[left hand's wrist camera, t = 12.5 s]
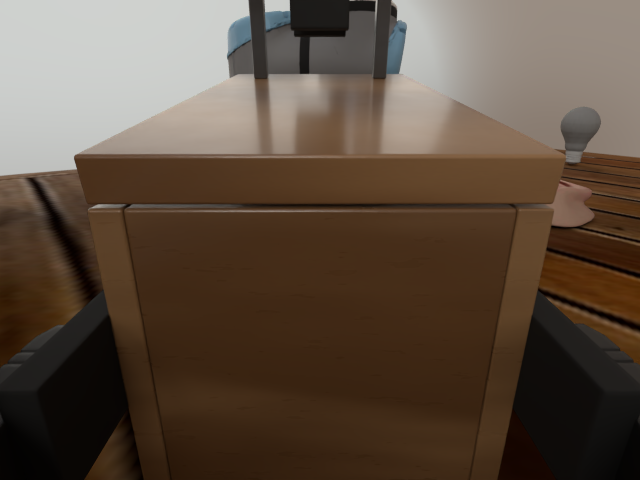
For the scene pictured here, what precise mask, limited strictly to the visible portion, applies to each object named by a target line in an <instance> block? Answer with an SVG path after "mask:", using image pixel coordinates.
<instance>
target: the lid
mask: <svg viewBox="0 0 640 480" xmlns="http://www.w3.org/2000/svg"><path fill="white" fill-rule="evenodd" d="M391 2H392V0H376V9H375V27H374V45H373V63H372V74H268V58H267V40H266V22H265V4H264V0H249V13H250V27H251V41H252V55H253V69H254V74H238V75H236V76H233V77H231V78H229V79H227V80H226V81H223V82H221V83H219V84H217V85H215V86H213V87H212V88H209V89H207V90H205V91H203V92H201V93H199V94H197V95H195V96H193V97H191V98H189V99H187V100H185V101H183V102H181V103H179V104H177V105H175V106H173V107H171V108H169V109H167V110H165V111H163V112H161V113H159V114H157V115H155V116H153V117H151V118H149V119H147V120H145V121H143V122H141V123H139V124H137V125H135V126H133V127H131V128H129V129H127V130H125V131H123V132H121V133H119V134H117V135H115V136H113V137H111V138H109V139H107V140H105V141H103V142H101V143H99V144H97V145H95V146H93V147H91V148H89V149H87V150H85V151H83V152H81V153H79V154H77V155H75V156H74V160H75V163H76V167H77V170H78V174H79V177H80V181H81V184H82V188H83V191H84V195H85V198H86V201H87V203H88V204H552V203H553V202H554V199H555V196H556V193H557V189H558V186H559V182H560V179H561V175H562V172H563V168H564V165H565V161H566V155H564V154H562V153H560V152H558V151H556V150H554V149H552V148H550V147H548V146H546V145H544V144H542V143H540V142H538V141H536V140H534V139H532V138H530V137H528V136H526V135H524V134H522V133H520V132H518V131H516V130H514V129H512V128H510V127H508V126H506V125H504V124H502V123H500V122H498V121H496V120H494V119H492V118H490V117H488V116H486V115H484V114H482V113H480V112H478V111H476V110H474V109H472V108H470V107H468V106H466V105H464V104H462V103H460V102H457V101H455V100H453V99H451V98H449V97H447V96H445V95H443V94H441V93H439V92H437V91H435V90H433V89H431V88H429V87H427V86H425V85H423V84H421V83H419V82H417V81H415V80H413V79H411V78H409V77H407V76H405V75H403V74H386V73H387V59H388V45H389V30H390V16H391Z"/></svg>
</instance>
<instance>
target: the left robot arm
mask: <svg viewBox="0 0 640 480" xmlns="http://www.w3.org/2000/svg"><path fill="white" fill-rule="evenodd" d="M127 408H128V402H127V397H126V393H125V388H124V383H123V379H122V374H121V369H120V364H119V360H118V355H117V350H116V345H115V341H114V336H113V331H112V327H111V322H110V317H109V312H108V308H107V303H106V298H105V294H104V290H103V291H102V292H100V293H99V294H98V295H97V296H96V297H95V298H94V299H93V300H92V301H91V302H89V303H88V304H87V305H86V306H85V307H84V308H83V309H82V310H81V311H80V312H79V313H77V314H76V315H75V316H74V317H73V318H72V319H71V320H70V321H69V322H68V323H67V324H65V325H57V326H55V327H53V328H52V329H50V330H48V331H46V332H44V333H42V334H40V335H39V336H37V337H36V338H34V339H33V340H32V341H31V342H30V343H29V344H27V345H26V346H25V347H24V348H23V349H22V350H21V353H17V354H16V355H15V356H14V357H12V358H11V359H10V360H9V361H8V364H4V365H3V366H2V367H1V368H0V480H84V479H85V477H86V476H87V474H88V472H89V471H90V469H91V467H92V466H93V464H94V462H95V461H96V459H97V458H98V456H99V454H100V453H101V451H102V449H103V448H104V446H105V444H106V443H107V441H108V439H109V438H110V436H111V434H112V433H113V431H114V430H115V428H116V426H117V425H118V423H119V421H120V420H121V418H122V416H123V415H124V413H125V411H126V410H127ZM513 409H514V411H515V412H516V414H517V416H518V417H519V419H520V421H521V422H522V424H523V426H524V427H525V429H526V430H527V432H528V434H529V435H530V437H531V439H532V440H533V442H534V444H535V445H536V447H537V449H538V450H539V452H540V453H541V455H542V457H543V458H544V460H545V462H546V463H547V465H548V467H549V468H550V470H551V472H552V473H553V475H554V476H555V478H556V480H640V365H639V364H637V363H634V362H633V359H632V358H630V357H629V356H628V355H627V354H626V353H625V352H623V351H620V348H619V347H618V346H616V345H615V344H614V343H613V342H612V341H611V340H609V339H608V338H607V337H606V336H605V335H603V334H601V333H599V332H597V331H596V330H594V329H592V328H590V327H588V326H586V325H584V324H574V323H573V322H572V321H571V320H570V319H568V318H567V317H566V316H565V315H564V314H563V313H562V312H561V311H560V310H559V309H558V308H556V307H555V306H554V305H553V304H552V303H551V302H550V301H549V300H548V299H547V298H546V297H544V296H543V295H542V294H541V293H540V292H539V291H538V290H537V295H536V300H535V304H534V309H533V314H532V317H531V322H530V327H529V331H528V336H527V341H526V345H525V350H524V355H523V360H522V364H521V369H520V374H519V378H518V383H517V388H516V393H515V397H514V402H513Z"/></svg>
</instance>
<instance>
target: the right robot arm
mask: <svg viewBox="0 0 640 480" xmlns="http://www.w3.org/2000/svg"><path fill="white" fill-rule="evenodd" d="M375 9H376V0H290V11H285V12H281V11H274V12H265V22H266V40H267V58H268V74H372V63H373V45H374V27H375ZM406 29H407V25H406V23H405V22H402V21H401V20H400V21H397V6H396V5H395V3H394V2H393V1H392V2H391V16H390V30H389V45H388V59H387V73H386V74H399V71H400V66H401V61H402V55H403V49H404V43H405V35H406ZM227 59H228V62H229V74H230V78H231V77H233V76H236V75H238V74H254V69H253V55H252V41H251V27H250V16H247V17H244V18H241V19H239V20H237V21H235V22H234V23H233V24H232V25H231V26H230V28H229V30H228V54H227Z"/></svg>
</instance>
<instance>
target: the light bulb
mask: <svg viewBox="0 0 640 480" xmlns="http://www.w3.org/2000/svg"><path fill="white" fill-rule="evenodd" d="M600 124H601V120H600V117H599V115H598V113H597V112H596V111H595V110H594V109H591V108H588V107H579V108H576V109H573V110H571V111H570V112H569V113H567V114H566V115H565V117H564V118H563V120H562V122H561V132H562V134H563V137H564V140H565V149H566V154H565V155H566V161H565V162H567V163H568V164H577V163H579V162H581V161H580V160H581V159H580V157H581V155H582V153H583V151H584V149H585V148H586V146H587V143H588V142H589V141H590V139H591V138H592V137H593V136H594V135H595V134H596V133H597V131H598V129H599V127H600Z"/></svg>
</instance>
